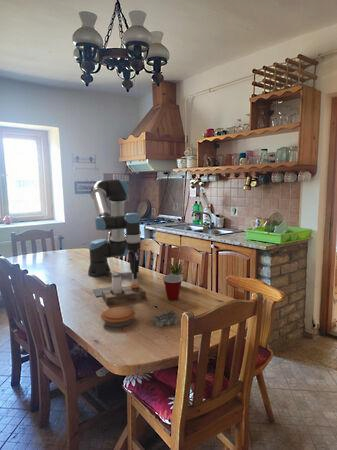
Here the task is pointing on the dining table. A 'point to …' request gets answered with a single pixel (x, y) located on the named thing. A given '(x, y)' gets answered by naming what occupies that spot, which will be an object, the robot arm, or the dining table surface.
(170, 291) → the plastic cup
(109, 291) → the housing
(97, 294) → the mat
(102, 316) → the pie
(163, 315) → the egg carton
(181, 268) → the house plant
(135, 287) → the release button
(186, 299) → the dining table surface
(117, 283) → the cartridge
